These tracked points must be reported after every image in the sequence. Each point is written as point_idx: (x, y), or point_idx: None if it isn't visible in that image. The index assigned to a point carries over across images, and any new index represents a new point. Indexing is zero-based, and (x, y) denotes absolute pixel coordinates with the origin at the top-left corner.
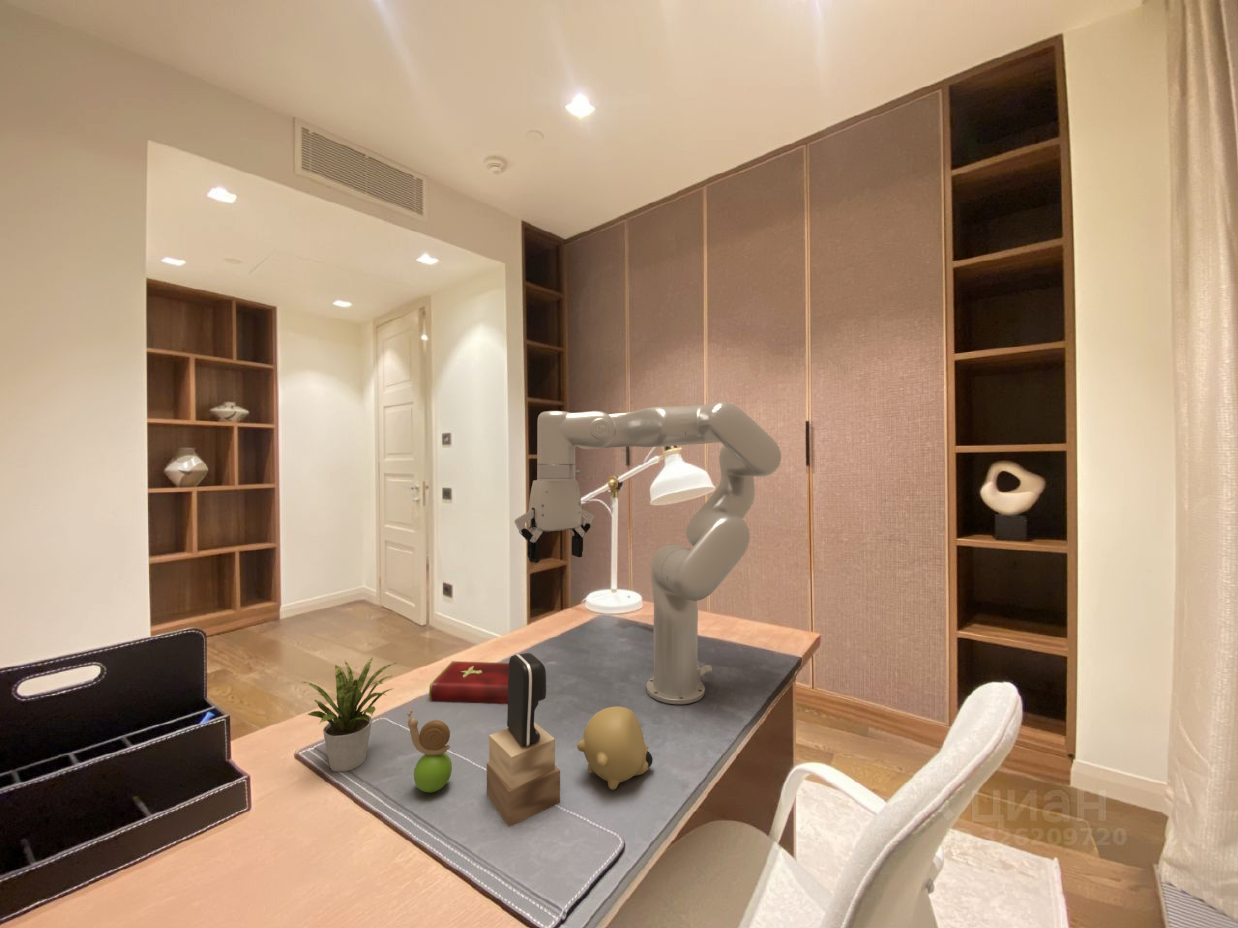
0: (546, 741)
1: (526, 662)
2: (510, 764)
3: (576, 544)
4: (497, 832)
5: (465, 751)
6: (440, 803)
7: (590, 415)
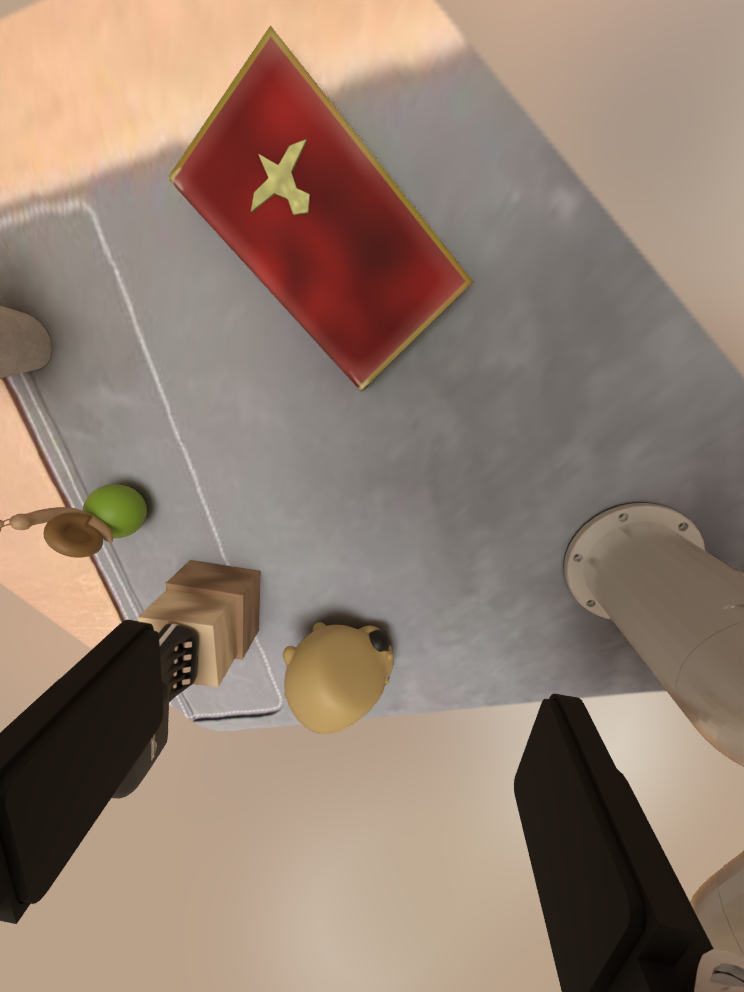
0: (204, 683)
1: None
2: None
3: (558, 880)
4: None
5: (197, 451)
6: (136, 535)
7: None
